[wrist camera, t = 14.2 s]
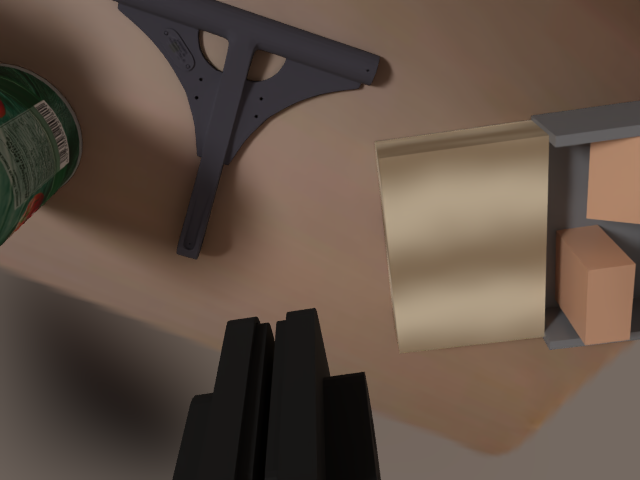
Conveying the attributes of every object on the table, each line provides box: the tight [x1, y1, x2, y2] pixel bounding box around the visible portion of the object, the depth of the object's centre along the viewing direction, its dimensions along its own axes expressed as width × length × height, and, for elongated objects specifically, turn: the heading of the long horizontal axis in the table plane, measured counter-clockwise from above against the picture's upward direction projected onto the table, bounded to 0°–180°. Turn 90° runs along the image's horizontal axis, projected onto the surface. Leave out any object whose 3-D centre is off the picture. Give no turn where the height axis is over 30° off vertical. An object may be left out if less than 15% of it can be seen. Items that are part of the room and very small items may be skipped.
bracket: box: [113, 0, 380, 259], centre depth 35 cm, size 14×15×3 cm
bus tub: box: [531, 101, 640, 350], centre depth 36 cm, size 14×8×4 cm, turn 8°
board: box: [375, 120, 549, 354], centre depth 37 cm, size 13×9×3 cm
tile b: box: [555, 225, 636, 345], centre depth 36 cm, size 5×5×2 cm
